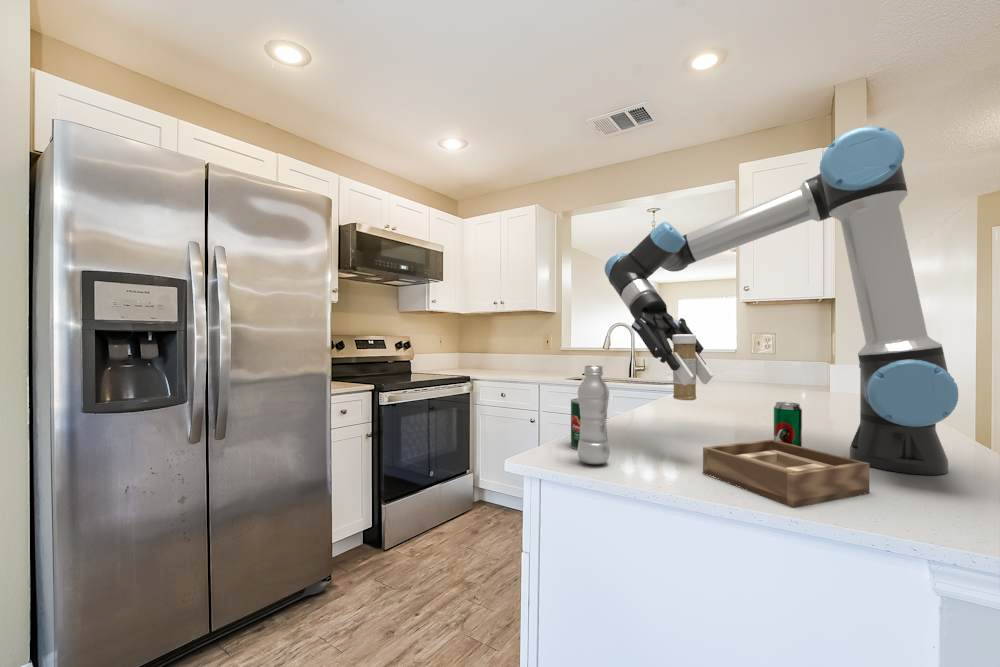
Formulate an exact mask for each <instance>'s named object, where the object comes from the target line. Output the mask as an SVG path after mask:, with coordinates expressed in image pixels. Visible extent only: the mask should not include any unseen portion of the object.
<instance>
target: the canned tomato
mask: <svg viewBox="0 0 1000 667" xmlns="http://www.w3.org/2000/svg"><path fill="white" fill-rule="evenodd" d="M580 419H581V417H580V407H579V400H578V397H576V398H572V399H570V444H571V445H570V447H571V448H572V449H573V450H578V443H579V440H580V439H579V438H580V425H581V422H580Z"/></svg>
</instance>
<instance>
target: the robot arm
mask: <svg viewBox="0 0 1000 667" xmlns="http://www.w3.org/2000/svg"><path fill="white" fill-rule="evenodd" d="M904 155H905V148H904V145H903V142H902V140H901V138H900V137H899V136H898V135H897V134H896V133H895V132H894V131H892V130H890V129H888V128H885V127H881V126H874V125H873V126H861V127H858V128H854V129H851V130H849V131H846V132H845V133H842V134H840V136H838V137H836V138H835V140H833V141H832V142H831V143H830V144H829V145H828V147H827V148H826V150H825V151H824V153H823V155H822V157H821V160H820V162H819V163H820V164H819V174H817V175H815V176H812V177H811V178H809V179H805V180H803V182H802V183H801V185H800V186H799V187H797V188H796V189H794V190H790V191H788V192H787V193H783V194H781V195H779V196H778V195H777V196H776V197H774V198H771V199H769V200H766V201H764V202H760V203H759V204H757V205H754V206H752V207H749V208H747V209H745V210H742V211H739V212H737V213H734V214H732V215H730V216H727V217H725V218H722V219H719V220H717V221H715V222H713V223H710V224H708V225H705V226H702V227H700V228H698V229H695V230H693V231H690V232H688V233H686V234H682V233H680V232H679V231H678V230H677V229H676V228H675V227H674V226H673V225H672V224H671V223H669V222H668V221H662V222H661V223H659V224H658V225H657V226H656V227H654V228H653V229H652V230H651V231H650V232H649V233H648V234H647V235H646V236H645V238H644V239H642V241H640V242H639V243H638V244H637V246H635V247H634V248H633V249H632V250H631V251H630V252H629V253H625V252H619V253H616V255H612V256H611V257H610V258H609V259H608V260H607V261H606V262H605V264H604V273H605V276H606V277H607V279H608V282H609V284H610V285H611V286H612V288H613V289H614V290H615V292H616V293H617V294H618V295H619V297H620V298H621V300H622V302H623V303H624V305H625V306H626V308H627V309H628V311H629V312H630V314H631V316H632V317H633V319H634V321H633V323H632V324H631V329H632V330H633V331H634V332H635V333H637V334H638V336H639V338H640V339H641V340H642V341H643V343H644V345H645V346H646V348H647V349H648V351H649V352H650V354H651V355H652V357H653V358H655V359H659V358H660V359H659V361H660V362H661V363H664V364H665V363H666V364H667V365H668V367H669V368H670V369H671V370H672V372H673V371H674V372H675V373H676V375H677V376H678V378H679V379H680V381H681V382H682V384H683V385H687V384H688V383H689V382H690V381H691V380H692V378H693V377H694V376H693V374H692V373H691V372H690V370H689V369H688V367H687V366H686V365H685V363H684V362H683V360H682V359H681V357H680V356H679V355H678V353H677V352H674V353H673V348H672V346H671V345H670V342H669V340H670V341H671V342H672V336H673V335H676V334H692V335H694V333H693V332H692V330H691V329H690V327H689V326H688V324H687V322H686V320H685V318H682V317H680V318H679V319H674V317H673V316H672V315H671V314H670V313H668V306H667V304H666V302H665V301H664V299H663V298H662V297H661V295H660V294H659V293H658V291H657V290H656V288H654V286H653V285H652V283H651V282H650V281H649V280H648V278H649V277H651V276H652V275H653V274H655V272H656V271H657V270H658V269H660V268H662V269H664V270H666V271H668V272H674V273H675V272H681V271H683V270H685V269H686V268H688V266H689V265H692V264H694V263H696V262H699V261H702V260H705V259H707V258H710V257H713V256H716V255H718V254H721V253H724V252H726V251H727V252H728V251H729V250H731V249H734V248H737V247H740V246H742V245H745V244H748V243H751V242H753V241H757V240H759V239H761V238H764V237H767V236H769V235H772V234H775V233H777V232H781V231H784V230H786V229H789V228H792V227H795V226H798V225H800V224H802V223H806V222H808V221H811V220H812V221H816V222H822V221H824V220H827V219H830V218H833V219H835V220H837V221H839V222H840V225H841V229H842V234H843V235H842V236H843V238H844V239H843V240H844V243H845V244H844V245H845V248H846V253H847V257H848V263H849V268H850V272H851V277H852V278H851V279H852V282H853V283H852V284H853V286H854V287H853V288H854V292H855V297H856V302H857V306H858V310H859V311H858V312H859V316H860V322H861V326H862V331H863V335H864V336H863V337H864V340H865V341H864V342H865V344H864V346H862V348H861V349H860V350H859V351H858V352H857V356H858V362H859V363H858V364H859V366H858V367H859V371H860V379H859V380H860V386H859V388H860V392H859V394H860V399H859V401H860V402H859V403H860V406H859V408H860V409H859V412H860V413H859V415H860V416H859V418H860V419H859V420H860V421H859V425H858V427H857V430H856V432H855V434H854V437H853V439H852V441H851V444H850V447H849V459H853V460H857V461H862V462H866V463H869V467H872V468H875V469H880V470H884V471H891V472H896V473H904V474H913V475H927V476H928V475H929V476H930V475H933V476H934V475H935V476H936V475H945V474H947V473H948V472H949V460H948V457H947V455H946V452H945V449H944V447H943V445H942V442H941V440H940V438H939V436H938V432H937V430H936V429H937V428H936V424H937V423H939V422H942V421H944V420H945V419H946V418H948V417H949V416H950V415H951V414H952V413H953V412H954V410H955V409H956V407H957V405H958V401H959V388H958V387H959V386H958V384H957V382H955V378H953V377H952V376H951V374H950V372H948V371H949V370H948V367H947V366H948V365H947V363H946V358H945V354H944V349H943V344H942V343H940V342H939V341H936V340H934V339H932V338H931V337H930V336H929V335H928V331H927V328H926V322H925V318H924V313H923V309H922V304H921V300H920V294H919V291H918V287H917V281H916V276H915V273H914V269H913V264H912V263H913V262H912V259H911V254H910V249H909V247H908V246H909V245H908V241H907V240H908V239H907V237H906V236H907V235H906V233H905V227H904V223H903V217H902V213H901V209H900V205H901V204H902V203H903V201H904V200H905V198H907V196H908V195H909V193H908V192H909V191H908V188H907V187H908V186H907V184H906V183H907V182H906V178H905V173H904V169H903V161H904V158H905V156H904ZM668 339H669V340H668ZM695 345H696V346H695V356H696V357H695V358H696V377H698V379H699V380H700V381H701V383H702V385H707V384H708V383H709V382H710V380H712V378H713V377H714V374H713V372H712V371H711V370H710V369H709V367H708V366H707V363H706V362H705V360H704V359H703V358H702V356H701V355H700V354H701V353H702V352H703V350H704V347H703V346H702V344H701V343H700V341H699V340H698V338H696V344H695Z"/></svg>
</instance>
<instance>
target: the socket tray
mask: <svg viewBox="0 0 1000 667" xmlns="http://www.w3.org/2000/svg"><path fill="white" fill-rule="evenodd" d="M703 473H705V474H704V475H706V474H708V475H711V476H714V477H716V478H719V479H721V480H724V481H726V482H725V483H727V482H729V483H731V484H730V485H732V484H734V485H733V486H735V485H737V486H740V487H742V488H741V489H743V488H744V489H743V490H745V489H747V490H746V491H748V490H749V491H748V492H751V491H752V492H751V493H753V492H754V494H756V493H757V494H756V495H758V494H759V495H758V496H761V497H764V498H766V497H767V499H769V500H772V501H775V502H778V503H779V504H782V505H785V506H787V507H791V508H799V506H800V507H804V505H805V506H809V504H810V505H814V503H815V504H819V502H821V503H825V502H824V501H826V502H831V501H835V500H834V499H836V500H841V499H840V498H842V499H846V498H845V497H847V498H851V497H850V496H852V497H856V496H855V495H857V496H860V495H859V494H862V495H865V494H864V493H868V494H870V466H869V463H866V462H862V461H857V460H853V459H851V458H850V457H849V458H848V457H845V456H841V455H836V454H834V453H833V454H832V453H828V452H826V451H825V452H824V451H820V450H816V449H811V448H807V447H804V446H802V447H800V446H796V445H792V444H787V443H783V442H779V441H775V440H774V439H765V440H757V441H747V442H746V441H745V442H740V443H737V442H736V443H730V444H721V445H713V446H712V445H711V446H710V445H709V446H705V447H704V446H703V447H702V474H703ZM708 475H707V476H708ZM711 476H710V477H711ZM716 478H715V479H716ZM719 479H718V480H719ZM721 480H720V481H721ZM724 481H723V482H724ZM729 483H728V484H729ZM737 486H736V487H737ZM740 487H739V488H740ZM830 500H831V501H830Z"/></svg>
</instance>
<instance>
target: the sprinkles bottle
mask: <svg viewBox="0 0 1000 667" xmlns="http://www.w3.org/2000/svg"><path fill="white" fill-rule="evenodd" d="M696 339H697V334H693V335H692V334H676V335H673V336H672V341H671V344H673V345H672V347H673V348H672V354H673V353H674V352H677V353H678V355H679V356H680V357H681V359H682V360H683V362H684V363H685V365H686V366H687V367H688V369H689V370H690V372H691V373H692V374H693V376H694V377H693V378H692V380H691V381H690V382H689V383H688V384H687V385H683V384H682V382H681V381H680V379H679V378H678V376H677V375H676V373H675V372H674V371H673V370H672V378H673V380H672V381H673V382H672V383H673V396H672V397H673V399H675V400H679V401H695V400H697V394H696V392H697V389H696V388H697V387H696V386H697V375H696V358H695V357H696V356H695V346H696V345H695V344H696Z"/></svg>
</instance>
